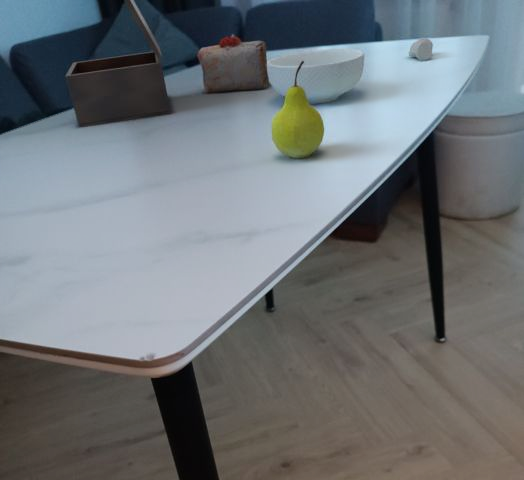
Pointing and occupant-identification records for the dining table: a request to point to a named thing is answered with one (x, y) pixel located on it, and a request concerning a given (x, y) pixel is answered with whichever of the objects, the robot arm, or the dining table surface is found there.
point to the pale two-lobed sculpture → (421, 49)
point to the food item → (234, 65)
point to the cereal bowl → (317, 73)
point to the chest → (117, 89)
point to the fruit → (297, 124)
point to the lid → (144, 28)
